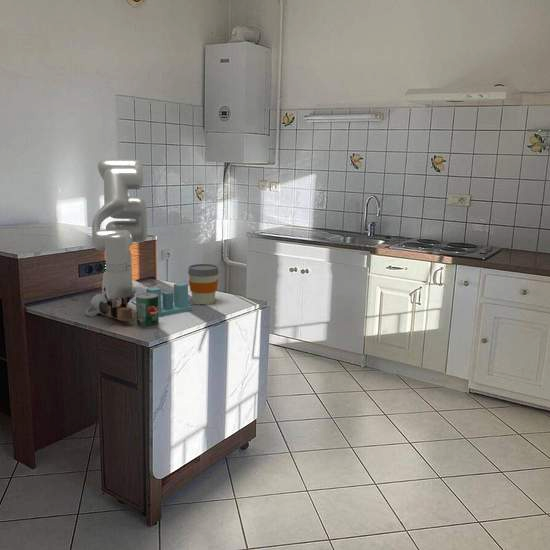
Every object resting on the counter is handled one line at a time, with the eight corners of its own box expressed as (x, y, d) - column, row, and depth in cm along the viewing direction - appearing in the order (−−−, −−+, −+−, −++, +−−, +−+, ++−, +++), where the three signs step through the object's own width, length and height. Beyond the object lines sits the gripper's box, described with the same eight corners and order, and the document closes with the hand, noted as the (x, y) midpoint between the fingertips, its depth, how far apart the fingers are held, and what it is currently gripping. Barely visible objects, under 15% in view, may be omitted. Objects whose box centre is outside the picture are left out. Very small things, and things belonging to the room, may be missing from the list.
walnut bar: (107, 316, 212) (105, 305, 211) (114, 314, 213) (113, 304, 213) (124, 321, 200) (123, 310, 200) (132, 319, 202) (131, 308, 202)
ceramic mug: (107, 308, 222) (106, 290, 220) (117, 313, 217) (116, 294, 215) (82, 314, 215) (80, 295, 213) (92, 319, 209) (90, 299, 207)
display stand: (143, 314, 215) (142, 288, 213) (183, 307, 227) (183, 281, 225) (151, 318, 211) (150, 291, 209) (191, 310, 223) (191, 284, 220)
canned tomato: (157, 327, 200) (156, 298, 198) (135, 327, 200) (133, 298, 197) (160, 321, 208) (159, 292, 206) (138, 321, 208) (137, 292, 205)
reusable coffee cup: (182, 300, 236) (182, 266, 233) (207, 296, 244) (207, 262, 241) (199, 307, 227) (199, 271, 224) (224, 302, 235) (224, 267, 232)
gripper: (132, 263, 211) (134, 309, 215) (90, 268, 200) (93, 317, 204) (142, 266, 205) (143, 314, 209) (99, 272, 195) (102, 322, 199)
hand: (118, 315), depth 207 cm, fingers closed on walnut bar, 2 cm apart
